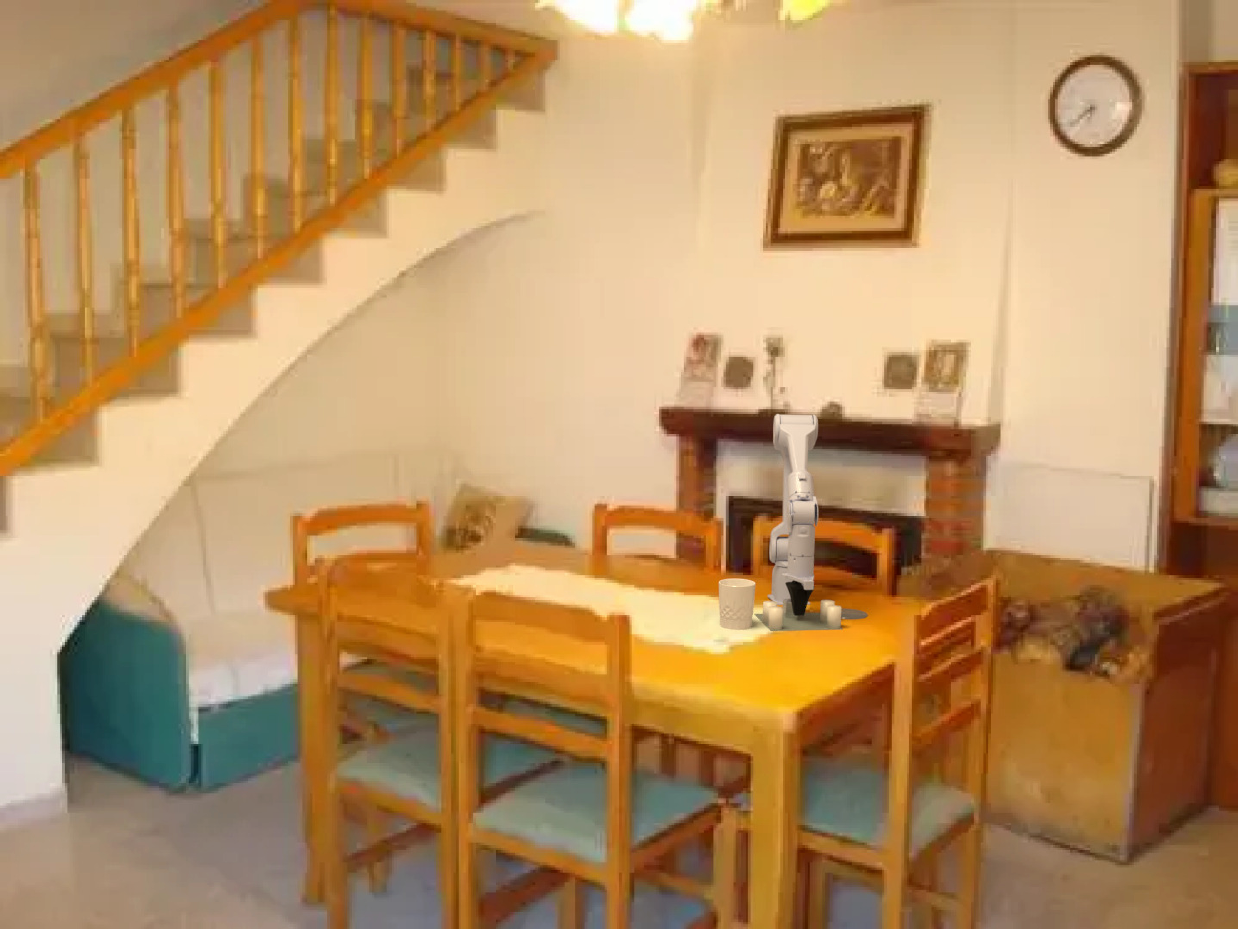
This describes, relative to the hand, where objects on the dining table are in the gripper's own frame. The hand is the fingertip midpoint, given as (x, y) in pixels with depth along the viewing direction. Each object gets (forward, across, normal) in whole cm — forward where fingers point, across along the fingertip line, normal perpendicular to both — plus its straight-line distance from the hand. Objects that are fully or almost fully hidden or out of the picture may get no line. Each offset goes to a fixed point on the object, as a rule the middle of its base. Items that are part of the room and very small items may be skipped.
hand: (798, 615), depth 311 cm
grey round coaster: (+2, -4, +12) cm, 13 cm away
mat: (+2, +1, 0) cm, 2 cm away
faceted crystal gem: (+1, -4, 0) cm, 4 cm away
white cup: (+2, +4, -15) cm, 16 cm away
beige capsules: (+1, +4, 0) cm, 4 cm away
